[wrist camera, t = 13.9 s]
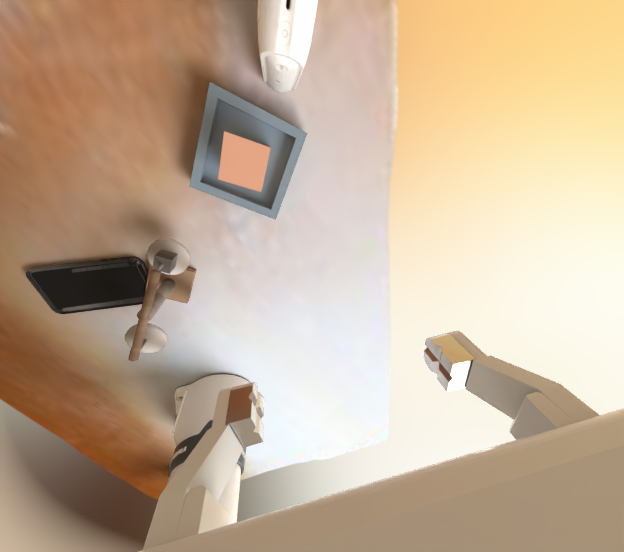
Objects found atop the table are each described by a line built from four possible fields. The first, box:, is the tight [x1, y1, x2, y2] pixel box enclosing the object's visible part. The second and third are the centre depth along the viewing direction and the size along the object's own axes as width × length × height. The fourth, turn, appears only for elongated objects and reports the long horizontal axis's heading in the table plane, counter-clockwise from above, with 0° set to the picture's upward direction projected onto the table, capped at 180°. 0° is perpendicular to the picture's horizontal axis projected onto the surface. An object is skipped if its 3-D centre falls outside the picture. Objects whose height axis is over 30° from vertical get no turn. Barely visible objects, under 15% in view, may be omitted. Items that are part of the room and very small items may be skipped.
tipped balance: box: [125, 239, 196, 361], centre depth 31 cm, size 17×6×11 cm, turn 156°
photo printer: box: [257, 0, 318, 92], centre depth 19 cm, size 10×4×12 cm, turn 168°
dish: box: [189, 82, 307, 219], centre depth 29 cm, size 11×11×2 cm
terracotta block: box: [218, 131, 271, 192], centre depth 26 cm, size 4×4×6 cm
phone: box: [26, 257, 148, 314], centre depth 35 cm, size 8×1×15 cm
